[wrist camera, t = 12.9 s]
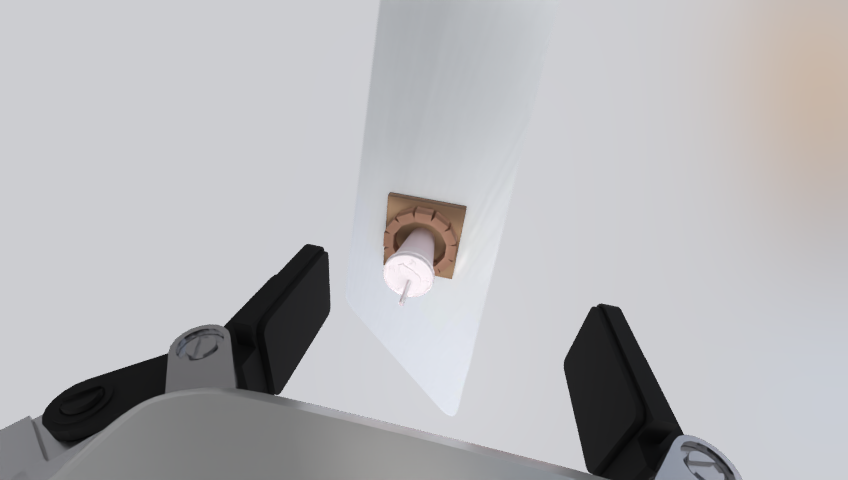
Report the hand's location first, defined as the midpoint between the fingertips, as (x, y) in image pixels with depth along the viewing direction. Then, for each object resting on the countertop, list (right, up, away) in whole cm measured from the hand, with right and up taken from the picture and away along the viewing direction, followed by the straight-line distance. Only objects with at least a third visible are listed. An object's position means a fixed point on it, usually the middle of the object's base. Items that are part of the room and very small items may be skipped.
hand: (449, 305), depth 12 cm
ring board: (-1, +3, +38) cm, 38 cm away
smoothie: (-1, +3, +37) cm, 37 cm away
